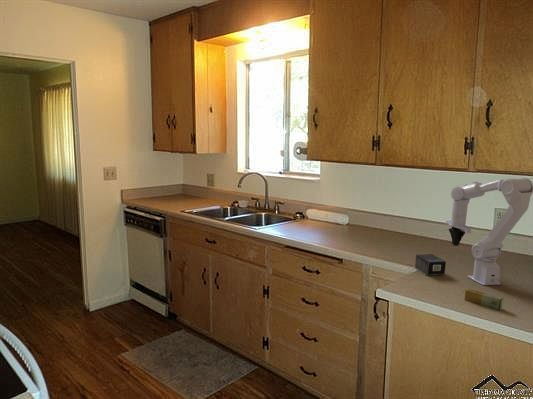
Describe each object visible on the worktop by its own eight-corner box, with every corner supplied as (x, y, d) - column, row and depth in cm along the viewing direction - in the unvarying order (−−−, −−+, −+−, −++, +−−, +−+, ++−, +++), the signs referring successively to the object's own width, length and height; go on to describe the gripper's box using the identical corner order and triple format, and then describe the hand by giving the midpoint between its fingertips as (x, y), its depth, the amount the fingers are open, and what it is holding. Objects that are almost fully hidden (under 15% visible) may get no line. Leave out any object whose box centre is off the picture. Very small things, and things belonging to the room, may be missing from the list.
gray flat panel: (443, 274, 174) (443, 273, 174) (425, 275, 172) (425, 274, 172) (431, 267, 183) (431, 266, 182) (414, 268, 181) (414, 266, 181)
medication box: (503, 309, 142) (504, 298, 141) (500, 311, 140) (501, 300, 140) (466, 298, 151) (468, 287, 150) (463, 300, 149) (465, 289, 148)
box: (444, 274, 173) (431, 265, 183) (446, 261, 172) (432, 253, 182) (427, 275, 172) (414, 266, 182) (428, 262, 170) (415, 253, 181)
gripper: (440, 211, 184) (437, 240, 187) (461, 218, 170) (457, 250, 173) (455, 210, 186) (451, 240, 188) (476, 218, 172) (473, 250, 174)
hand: (455, 245), depth 181 cm, fingers closed
